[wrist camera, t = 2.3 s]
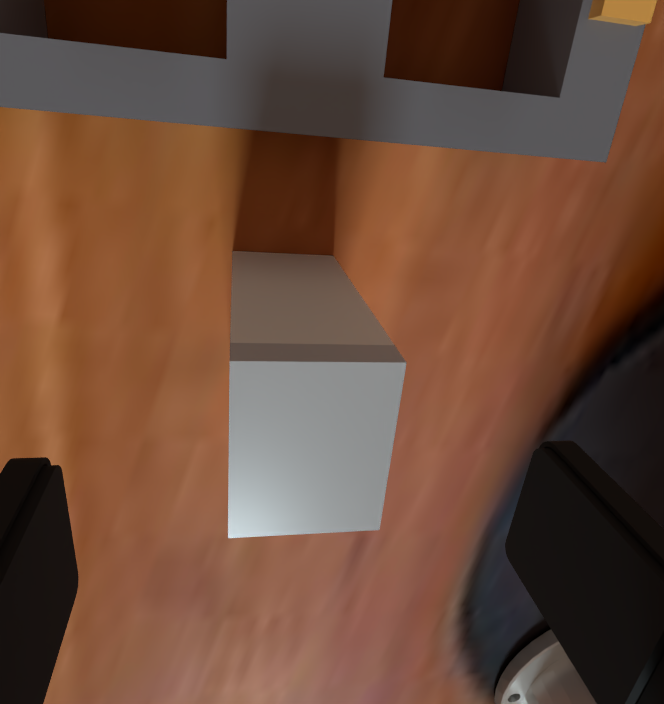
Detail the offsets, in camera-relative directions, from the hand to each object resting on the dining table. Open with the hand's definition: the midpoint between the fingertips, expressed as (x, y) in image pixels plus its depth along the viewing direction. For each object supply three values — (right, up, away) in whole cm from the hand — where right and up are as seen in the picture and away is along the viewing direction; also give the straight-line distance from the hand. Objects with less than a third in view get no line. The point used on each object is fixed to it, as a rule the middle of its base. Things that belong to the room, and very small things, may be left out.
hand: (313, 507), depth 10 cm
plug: (-2, +5, +11) cm, 12 cm away
